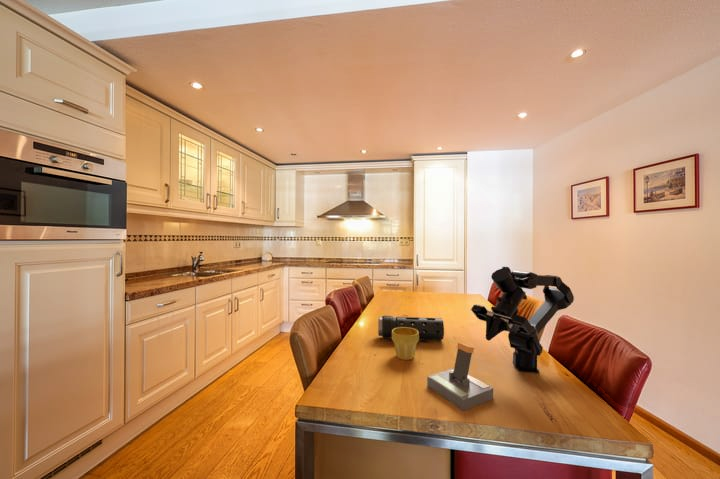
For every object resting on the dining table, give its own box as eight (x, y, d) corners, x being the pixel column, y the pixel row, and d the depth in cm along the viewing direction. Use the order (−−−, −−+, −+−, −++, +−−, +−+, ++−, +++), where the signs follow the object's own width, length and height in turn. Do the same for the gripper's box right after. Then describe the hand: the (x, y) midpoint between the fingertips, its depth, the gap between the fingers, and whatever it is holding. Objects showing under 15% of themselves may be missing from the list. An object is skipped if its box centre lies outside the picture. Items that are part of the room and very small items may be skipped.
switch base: (455, 376, 93) (455, 361, 92) (493, 398, 80) (493, 381, 80) (427, 385, 87) (427, 369, 87) (463, 410, 75) (463, 392, 74)
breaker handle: (456, 378, 86) (463, 343, 87) (467, 384, 82) (474, 347, 83) (451, 377, 85) (458, 342, 86) (461, 384, 81) (468, 347, 82)
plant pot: (385, 356, 108) (386, 330, 108) (402, 348, 116) (402, 324, 115) (408, 365, 101) (408, 337, 101) (424, 356, 108) (424, 331, 108)
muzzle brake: (444, 345, 119) (444, 321, 119) (378, 342, 122) (378, 318, 122) (440, 337, 129) (440, 315, 129) (378, 334, 132) (379, 312, 132)
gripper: (548, 323, 89) (527, 365, 84) (495, 309, 105) (474, 344, 100) (534, 301, 85) (511, 344, 80) (481, 290, 102) (459, 325, 96)
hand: (487, 339), depth 89 cm, fingers closed
